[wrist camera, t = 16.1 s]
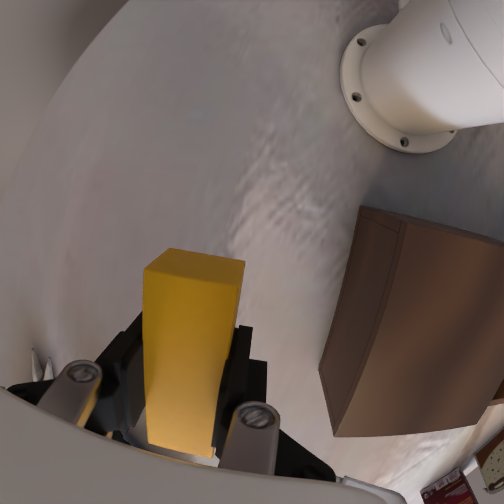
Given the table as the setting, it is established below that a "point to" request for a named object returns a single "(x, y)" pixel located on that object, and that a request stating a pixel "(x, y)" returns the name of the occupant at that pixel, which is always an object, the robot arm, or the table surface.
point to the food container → (492, 463)
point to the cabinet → (414, 328)
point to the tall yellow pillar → (187, 344)
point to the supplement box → (450, 490)
